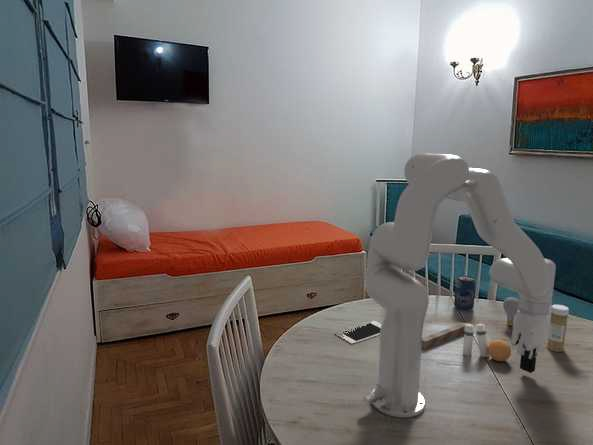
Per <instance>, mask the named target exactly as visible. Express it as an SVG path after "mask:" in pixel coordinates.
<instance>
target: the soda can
mask: <svg viewBox="0 0 593 445" xmlns="http://www.w3.org/2000/svg"><path fill="white" fill-rule="evenodd" d="M476 284H477V283H476V281H475V278H474V277H472V276H470V275H459V276H457V278H456V280H455V286H454V287H455V288H454V300H453V306H454V308H455V309H456V310H457V311H459V312H465V313H466V312H467V313H469V312H471V311H472V310H473V309H474V307H475V299H476V298H475V297H476Z"/></svg>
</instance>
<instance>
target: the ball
mask: <svg viewBox="0 0 593 445" xmlns="http://www.w3.org/2000/svg"><path fill="white" fill-rule="evenodd" d="M511 348H512V347H511V346H510V345H509V343H508V342H506V341H505V340H502V339H499V338H498V339H493V340H491V341H490V342H489V344H488V353H489V357H491V359H493V360H495V361H496V362H504V361H507V360H509V358H510V357H511V354H512V349H511Z"/></svg>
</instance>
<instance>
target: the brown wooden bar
mask: <svg viewBox="0 0 593 445" xmlns="http://www.w3.org/2000/svg"><path fill="white" fill-rule="evenodd" d="M465 324H468V322H467V323H466V322H461V323H459V324H456V325H454V326H451V327H449V328H446V329H442V330H440V331H438V332H435V333H432V334H430V335H428V336H424V337H422V347H421V349H423V350H427V349H429V348H432V347H435V346H436V345H437V346H438V345H439V344H441V343H444V342H446V341H449V340H451V339H454V338H456V337H460V336H461V335H464V330H465Z"/></svg>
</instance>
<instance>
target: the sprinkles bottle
mask: <svg viewBox="0 0 593 445" xmlns="http://www.w3.org/2000/svg"><path fill="white" fill-rule="evenodd" d="M569 313H570V308H569V307H568V306H565V305H564V304H563V305H562V304H553V305H552V304H551V312H550V320H549V325H548V335H547V344H546V347H547V349H549V350H551V351H552V352H556V353H557V352H558V353H561V352H564V351H565V342H566V335H567V334H566V333H567V327H568V326H567V323H568V316H569Z"/></svg>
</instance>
